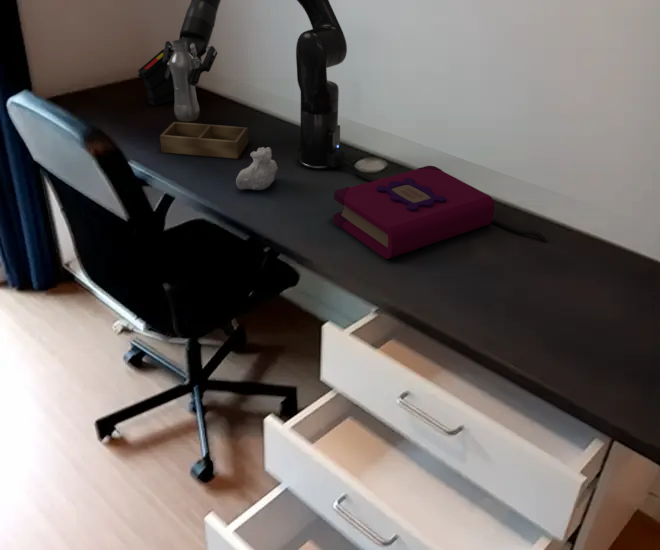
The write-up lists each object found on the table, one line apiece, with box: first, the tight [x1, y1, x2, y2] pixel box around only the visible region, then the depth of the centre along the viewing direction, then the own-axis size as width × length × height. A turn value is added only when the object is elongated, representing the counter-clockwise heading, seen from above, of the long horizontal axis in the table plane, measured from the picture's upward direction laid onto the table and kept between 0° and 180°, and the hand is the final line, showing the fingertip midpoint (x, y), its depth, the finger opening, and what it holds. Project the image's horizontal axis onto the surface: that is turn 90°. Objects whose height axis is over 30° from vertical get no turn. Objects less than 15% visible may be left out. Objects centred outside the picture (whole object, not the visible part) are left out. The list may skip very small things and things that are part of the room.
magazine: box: [137, 49, 175, 106], centre depth 217 cm, size 4×13×15 cm, turn 138°
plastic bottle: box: [169, 39, 201, 123], centre depth 181 cm, size 6×7×20 cm
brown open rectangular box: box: [159, 121, 249, 160], centre depth 188 cm, size 20×11×4 cm, turn 81°
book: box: [332, 165, 496, 260], centre depth 154 cm, size 21×28×8 cm
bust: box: [235, 146, 279, 191], centre depth 167 cm, size 12×8×11 cm
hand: (180, 82), depth 179 cm, fingers closed on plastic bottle, 6 cm apart
